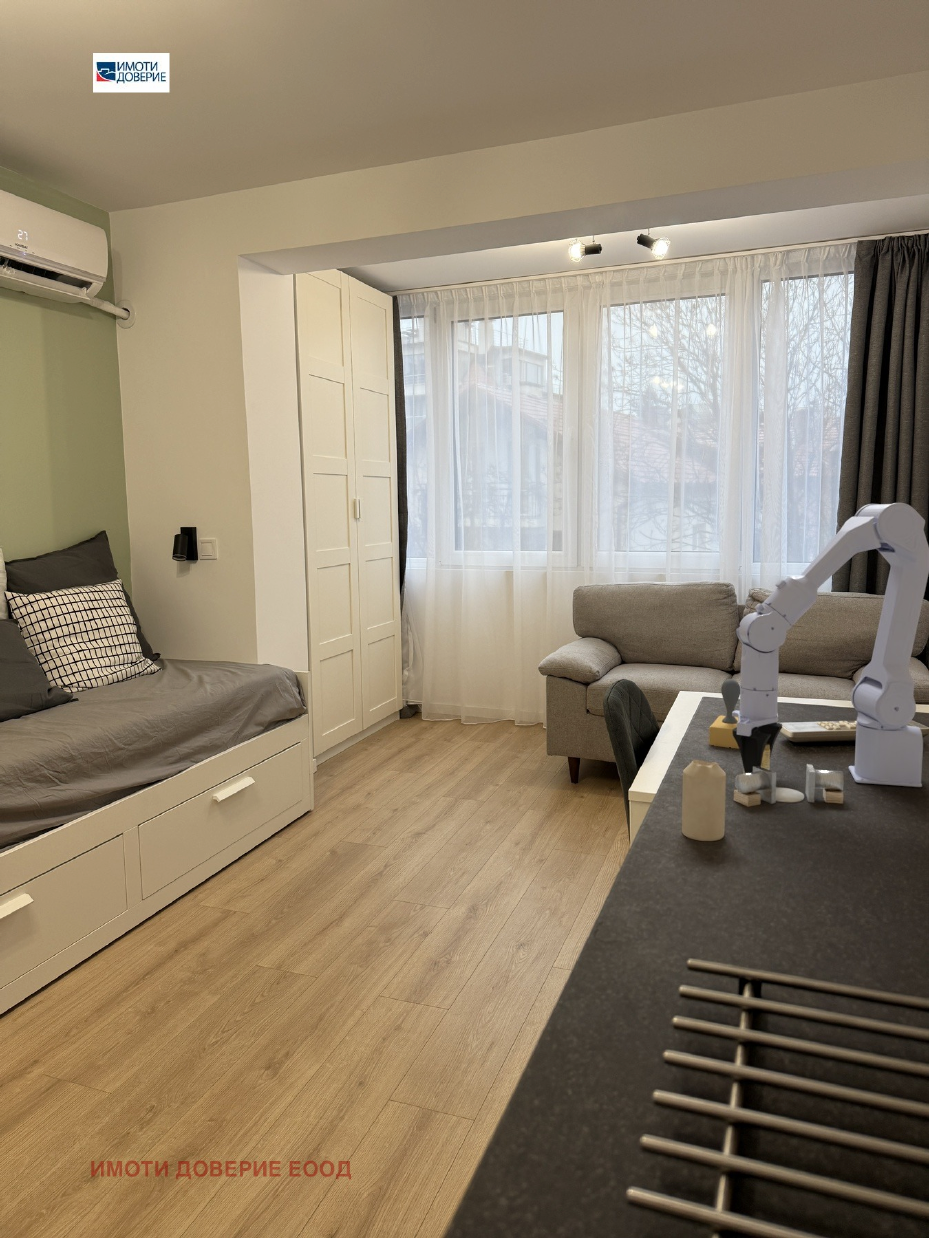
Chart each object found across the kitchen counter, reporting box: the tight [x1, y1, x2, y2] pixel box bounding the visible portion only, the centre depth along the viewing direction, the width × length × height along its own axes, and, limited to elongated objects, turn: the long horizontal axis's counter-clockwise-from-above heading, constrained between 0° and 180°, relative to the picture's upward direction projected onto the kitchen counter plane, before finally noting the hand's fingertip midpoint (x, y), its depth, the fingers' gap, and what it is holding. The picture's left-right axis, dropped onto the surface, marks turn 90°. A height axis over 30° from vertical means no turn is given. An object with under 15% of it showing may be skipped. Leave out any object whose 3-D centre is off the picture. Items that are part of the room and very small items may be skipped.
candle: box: [681, 759, 727, 842], centre depth 111 cm, size 6×6×10 cm
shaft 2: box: [805, 763, 845, 804], centre depth 124 cm, size 5×4×5 cm
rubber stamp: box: [708, 678, 740, 750], centre depth 157 cm, size 10×6×12 cm, turn 153°
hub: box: [742, 743, 771, 774], centre depth 135 cm, size 4×4×6 cm
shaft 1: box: [733, 766, 777, 808], centre depth 124 cm, size 5×4×5 cm
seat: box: [775, 786, 805, 803], centre depth 126 cm, size 6×6×1 cm
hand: (756, 769), depth 135 cm, fingers closed on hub, 4 cm apart
